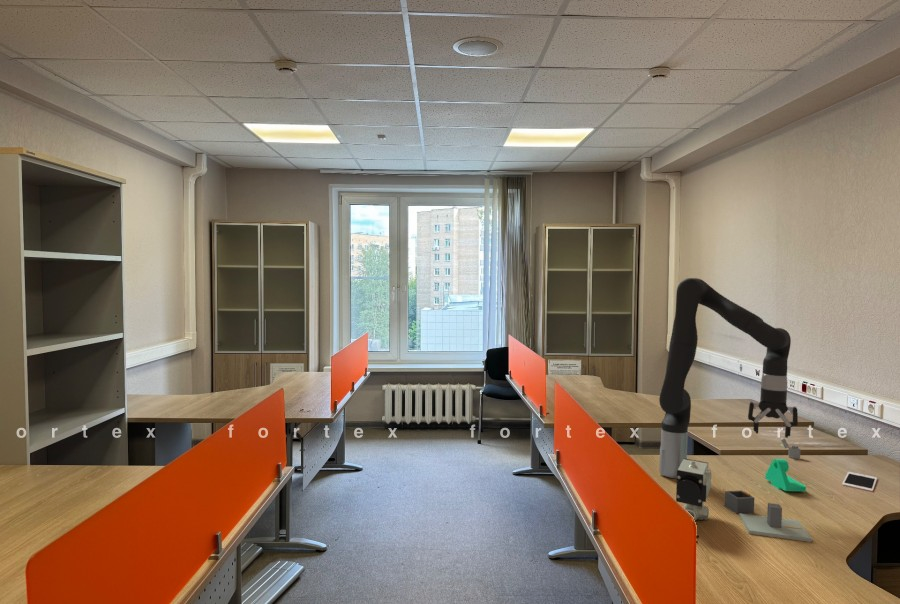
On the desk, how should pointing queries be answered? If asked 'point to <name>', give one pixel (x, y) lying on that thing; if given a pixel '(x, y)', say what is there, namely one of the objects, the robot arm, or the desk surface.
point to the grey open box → (739, 502)
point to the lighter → (792, 450)
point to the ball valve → (694, 487)
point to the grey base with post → (775, 525)
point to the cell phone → (860, 481)
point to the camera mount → (782, 477)
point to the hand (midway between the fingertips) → (771, 435)
